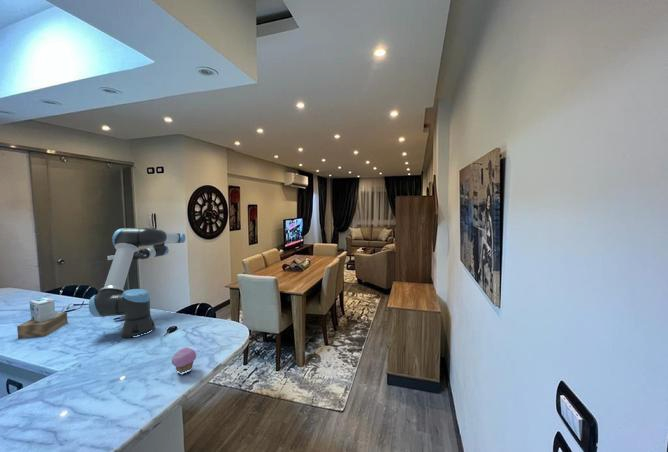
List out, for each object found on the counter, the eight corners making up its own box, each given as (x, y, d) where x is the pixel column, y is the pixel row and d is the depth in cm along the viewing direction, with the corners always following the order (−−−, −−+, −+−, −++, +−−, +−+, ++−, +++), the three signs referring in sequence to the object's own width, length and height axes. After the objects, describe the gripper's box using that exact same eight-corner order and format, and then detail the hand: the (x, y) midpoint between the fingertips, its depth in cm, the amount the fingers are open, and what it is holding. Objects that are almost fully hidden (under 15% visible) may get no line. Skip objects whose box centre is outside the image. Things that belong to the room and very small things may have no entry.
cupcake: (191, 363, 117) (190, 342, 116) (200, 371, 112) (199, 349, 111) (169, 373, 110) (167, 350, 110) (177, 382, 105) (176, 358, 104)
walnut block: (67, 323, 158) (66, 312, 157) (46, 336, 142) (45, 323, 142) (42, 325, 155) (41, 314, 154) (18, 339, 139) (17, 326, 139)
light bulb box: (30, 319, 147) (28, 300, 146) (47, 314, 153) (45, 296, 153) (39, 322, 143) (37, 303, 142) (56, 317, 149) (54, 299, 148)
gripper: (159, 259, 191) (127, 265, 171) (135, 257, 199) (102, 263, 179) (158, 249, 190) (127, 254, 170) (134, 247, 199) (102, 252, 179)
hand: (114, 258), depth 175 cm, fingers open, 13 cm apart
